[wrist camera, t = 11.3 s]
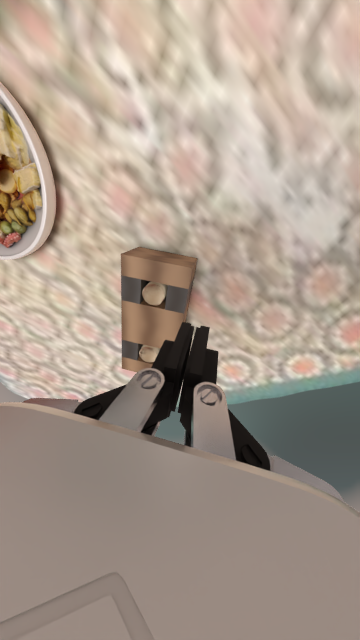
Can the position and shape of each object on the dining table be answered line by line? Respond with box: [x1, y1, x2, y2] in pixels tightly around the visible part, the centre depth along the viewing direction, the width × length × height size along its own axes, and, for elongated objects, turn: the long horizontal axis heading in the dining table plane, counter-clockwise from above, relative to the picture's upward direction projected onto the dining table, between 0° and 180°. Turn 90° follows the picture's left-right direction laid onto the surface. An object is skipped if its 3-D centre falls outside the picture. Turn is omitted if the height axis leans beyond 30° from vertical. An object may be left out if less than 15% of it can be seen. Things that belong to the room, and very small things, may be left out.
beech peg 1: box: [142, 281, 168, 305], centre depth 38 cm, size 4×4×8 cm
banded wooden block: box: [121, 247, 197, 372], centre depth 41 cm, size 12×26×8 cm, turn 171°
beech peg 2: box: [139, 345, 160, 363], centre depth 45 cm, size 4×4×8 cm
